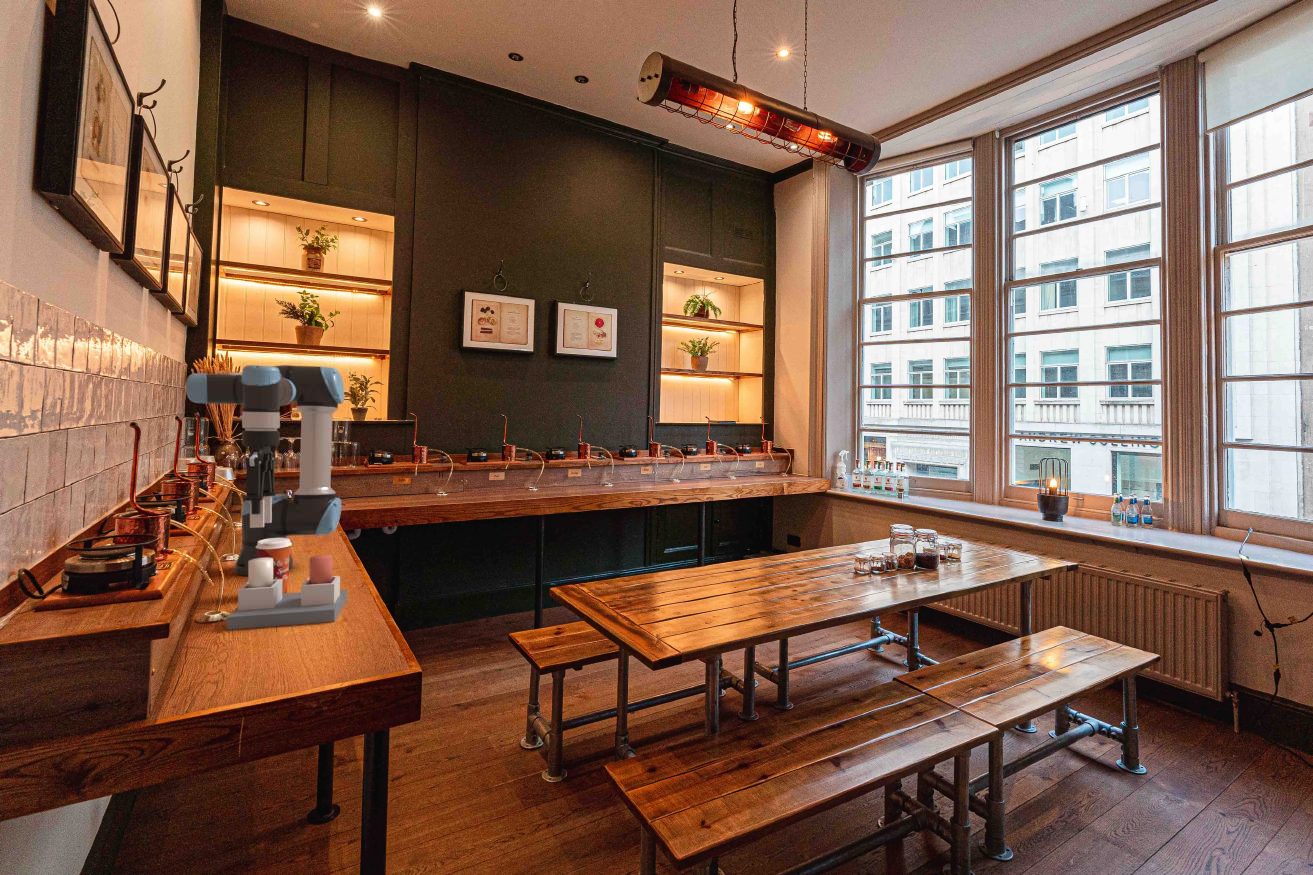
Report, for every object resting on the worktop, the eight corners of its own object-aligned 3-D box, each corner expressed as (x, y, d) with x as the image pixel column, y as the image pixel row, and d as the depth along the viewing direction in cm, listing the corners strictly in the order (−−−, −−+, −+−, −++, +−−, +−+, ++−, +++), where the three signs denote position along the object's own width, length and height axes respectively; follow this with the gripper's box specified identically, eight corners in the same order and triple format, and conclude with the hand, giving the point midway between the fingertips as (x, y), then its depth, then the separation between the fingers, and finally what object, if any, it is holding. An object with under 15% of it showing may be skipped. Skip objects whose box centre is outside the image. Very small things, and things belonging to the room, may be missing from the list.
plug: (252, 585, 142) (252, 558, 142) (275, 584, 144) (275, 556, 143) (245, 592, 137) (245, 563, 137) (269, 590, 139) (269, 562, 139)
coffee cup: (278, 599, 153) (278, 544, 152) (248, 598, 153) (248, 543, 152) (298, 590, 161) (298, 537, 161) (269, 589, 161) (270, 536, 161)
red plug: (312, 582, 146) (312, 555, 146) (334, 581, 148) (334, 554, 148) (307, 588, 142) (307, 560, 141) (330, 586, 143) (330, 559, 143)
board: (250, 607, 147) (250, 576, 147) (346, 600, 154) (347, 571, 154) (226, 629, 132) (226, 595, 131) (334, 621, 139) (334, 588, 139)
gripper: (255, 428, 146) (255, 518, 147) (228, 430, 129) (228, 533, 130) (289, 428, 149) (289, 517, 150) (267, 431, 132) (267, 531, 133)
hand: (261, 524), depth 140 cm, fingers open, 5 cm apart
